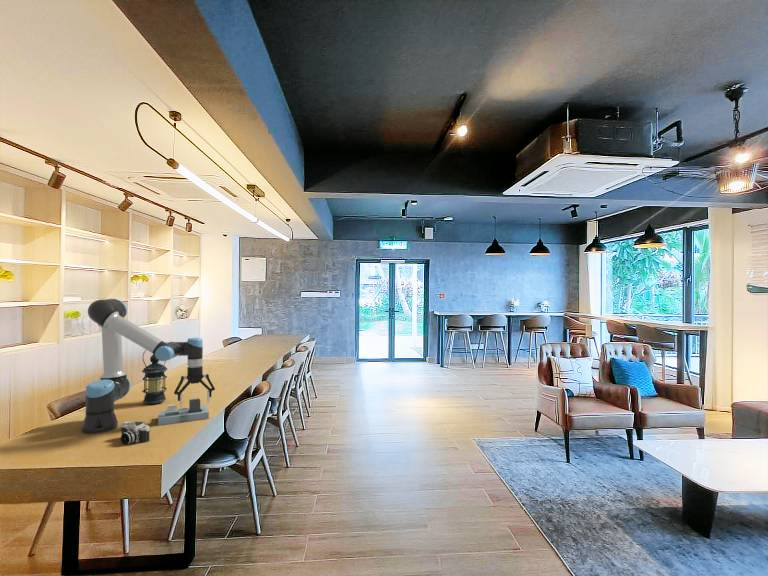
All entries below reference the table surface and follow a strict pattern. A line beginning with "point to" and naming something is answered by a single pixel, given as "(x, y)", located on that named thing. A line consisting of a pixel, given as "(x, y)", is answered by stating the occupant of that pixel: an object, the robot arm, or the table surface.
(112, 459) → the table surface
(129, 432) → the camera
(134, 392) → the table surface
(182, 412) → the socket block
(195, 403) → the plug
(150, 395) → the lantern
